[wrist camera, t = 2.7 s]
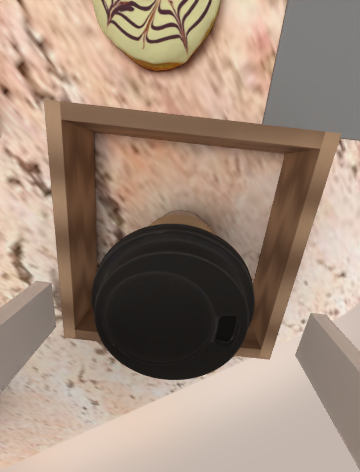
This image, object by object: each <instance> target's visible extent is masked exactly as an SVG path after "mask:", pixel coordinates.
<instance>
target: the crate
mask: <svg viewBox="0 0 360 472" xmlns="http://www.w3.org/2000/svg"><path fill="white" fill-rule="evenodd" d="M44 108H45V120H46V131H47V143H48V154H49V166H50V177H51V189H52V201H53V212H54V224H55V235H56V247H57V258H58V270H59V281H60V293H61V304H62V316H63V327H64V338H73V339H83V340H92V341H101V339H100V337H99V335H98V332H97V329H96V325H95V319H94V312H93V308H92V298H91V296H92V286H93V282H94V278H95V276H96V273H97V243H96V197H95V151H94V132H97V133H106V134H115V135H124V136H132V137H141V138H150V139H159V140H168V141H177V142H186V143H195V144H204V145H212V146H221V147H230V148H239V149H248V150H257V151H266V152H275V153H284V154H285V157H284V161H283V165H282V169H281V173H280V177H279V181H278V185H277V189H276V193H275V198H274V202H273V206H272V210H271V214H270V218H269V222H268V226H267V230H266V234H265V238H264V242H263V246H262V250H261V254H260V258H259V262H258V266H257V270H256V274H255V278H254V282H253V289H254V296H255V307H254V314H253V318H252V321H251V324H250V326H249V328H248V330H247V333H246V336H245V339H244V341H243V343H242V345H241V347H240V348H239V350H238V351H237V352H236V354H235V355H234V356H241V357H251V358H261V359H270V357H271V354H272V351H273V348H274V344H275V341H276V338H277V335H278V332H279V329H280V325H281V322H282V319H283V316H284V313H285V310H286V307H287V303H288V300H289V297H290V294H291V291H292V288H293V285H294V281H295V278H296V275H297V272H298V269H299V266H300V262H301V259H302V256H303V253H304V250H305V247H306V244H307V240H308V237H309V234H310V231H311V228H312V225H313V222H314V218H315V215H316V212H317V209H318V206H319V203H320V199H321V196H322V193H323V190H324V187H325V184H326V181H327V177H328V174H329V171H330V168H331V165H332V162H333V159H334V155H335V152H336V149H337V146H338V143H339V140H340V136H341V133H334V132H325V131H316V130H307V129H298V128H290V127H281V126H272V125H263V124H254V123H245V122H237V121H228V120H219V119H210V118H201V117H192V116H184V115H175V114H166V113H157V112H148V111H139V110H131V109H122V108H113V107H104V106H95V105H86V104H78V103H69V102H60V101H51V100H44ZM101 342H102V341H101Z"/></svg>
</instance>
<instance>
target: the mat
mask: <svg viewBox="0 0 360 472" xmlns="http://www.w3.org/2000/svg"><path fill="white" fill-rule="evenodd" d="M262 124H263V125H272V126H281V127H290V128H298V129H307V130H316V131H325V132H334V133H341V136H340V138H343V139H352V140H360V0H288V2H287V6H286V11H285V16H284V21H283V26H282V31H281V35H280V40H279V45H278V50H277V55H276V60H275V65H274V69H273V74H272V79H271V84H270V89H269V94H268V99H267V103H266V108H265V113H264V118H263V123H262Z"/></svg>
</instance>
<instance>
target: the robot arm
mask: <svg viewBox="0 0 360 472" xmlns="http://www.w3.org/2000/svg"><path fill="white" fill-rule="evenodd" d="M55 327H56V322H55V313H54V303H53V294H52V284H51V283H49V282H40V281H36V282H34V283H33V284H32V285H30V286H29V287H28V288H26V289H25V290H24V291H22V292H21V293H20V294H18V295H17V296H16V297H14V298H13V299H12V300H10V301H9V302H8V303H6V304H5V305H4V306H2V307H1V308H0V393H1V392H2V391H3V390H4V388H5V387H6V386H7V385H8V384H9V382H10V381H11V380H12V379H13V378H14V376H15V375H16V374H17V373H18V372H19V370H20V369H21V368H22V367H23V366H24V364H25V363H26V362H27V361H28V360H29V358H30V357H31V356H32V355H33V354H34V352H35V351H36V350H37V349H38V348H39V346H40V345H41V344H42V343H43V342H44V340H45V339H46V338H47V337H48V336H49V334H50V333H51V332H52V331H53V330H54V328H55ZM295 355H296V357H297V359H298V361H299V362H300V364H301V366H302V368H303V370H304V371H305V373H306V375H307V377H308V378H309V380H310V382H311V384H312V386H313V387H314V389H315V391H316V393H317V395H318V396H319V398H320V400H321V402H322V403H323V405H324V407H325V409H326V411H327V412H328V414H329V416H330V418H331V420H332V421H333V423H334V425H335V427H336V428H337V430H338V432H339V434H340V436H341V437H342V439H343V441H344V443H345V444H346V446H347V448H348V450H349V452H350V453H351V455H352V457H353V459H354V460H355V462H356V464H357V466H358V468H359V469H360V351H359V350H358V349H357V348H356V347H355V346H354V345H353V344H352V342H351V341H350V340H349V339H348V338H347V337H346V336H345V335H344V334H343V333H342V332H341V331H340V330H339V328H338V327H337V326H336V325H335V324H334V323H333V322H332V321H331V320H330V319H329V318H328V316H327V315H323V314H314V313H311V314H310V317H309V319H308V322H307V325H306V327H305V330H304V333H303V336H302V338H301V341H300V344H299V347H298V349H297V352H296V354H295Z"/></svg>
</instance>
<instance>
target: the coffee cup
mask: <svg viewBox="0 0 360 472" xmlns="http://www.w3.org/2000/svg"><path fill="white" fill-rule="evenodd" d="M91 298H92V308H93V312H94V319H95V325H96V329H97V332H98V335H99V337H100V339H101V341H102V343H103V344H104V346H105V347H106V348H107V350H108V351H109V352H110V353H111V354H112V355H113V356H114V357H115V358H116V359H117V360H118V361H119V362H121V363H122V364H123V365H125V366H127V367H128V368H130V369H132V370H134V371H136V372H138V373H140V374H143V375H146V376H150V377H153V378H158V379H166V380H183V379H190V378H195V377H199V376H202V375H205V374H208V373H210V372H212V371H214V370H216V369H218V368H220V367H221V366H223V365H224V364H225V363H227V362H228V361H229V360H230V359H231V358H232V357H233V356H234V355H235V354H236V352H237V351H238V350H239V348H240V347H241V345H242V343H243V341H244V339H245V336H246V333H247V330H248V328H249V326H250V324H251V321H252V318H253V314H254V307H255V296H254V289H253V284H252V279H251V276H250V273H249V270H248V268H247V266H246V264H245V262H244V261H243V259H242V258H241V256H240V255H239V254H238V253H237V252H236V250H235V249H234V248H233V247H232V246H231V245H229V244H228V243H227V242H226V241H224V240H223V239H221V238H220V237H218V236H217V235H216V234H215V233H214V232H213V231H212V230H211V228H210V227H209V226H208V225H207V224H206V223H205V222H203V221H202V220H201V219H200V218H199V217H198V216H196V215H195V214H193V213H191V212H188V211H173V212H170V213H167V214H166V215H164V216H163V217H161V218H159V219H158V220H156V221H155V222H153V223H152V224H151V225H150V226H148V227H145V228H142V229H139V230H137V231H135V232H133V233H131V234H129V235H127V236H125V237H124V238H122V239H121V240H120V241H119V242H117V243H116V244H115V245H114V246H113V247H112V248H111V249H110V250H109V251H108V253H107V254H106V255H105V257H104V258H103V260H102V262H101V264H100V266H99V268H98V271H97V273H96V276H95V278H94V282H93V286H92V296H91Z"/></svg>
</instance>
